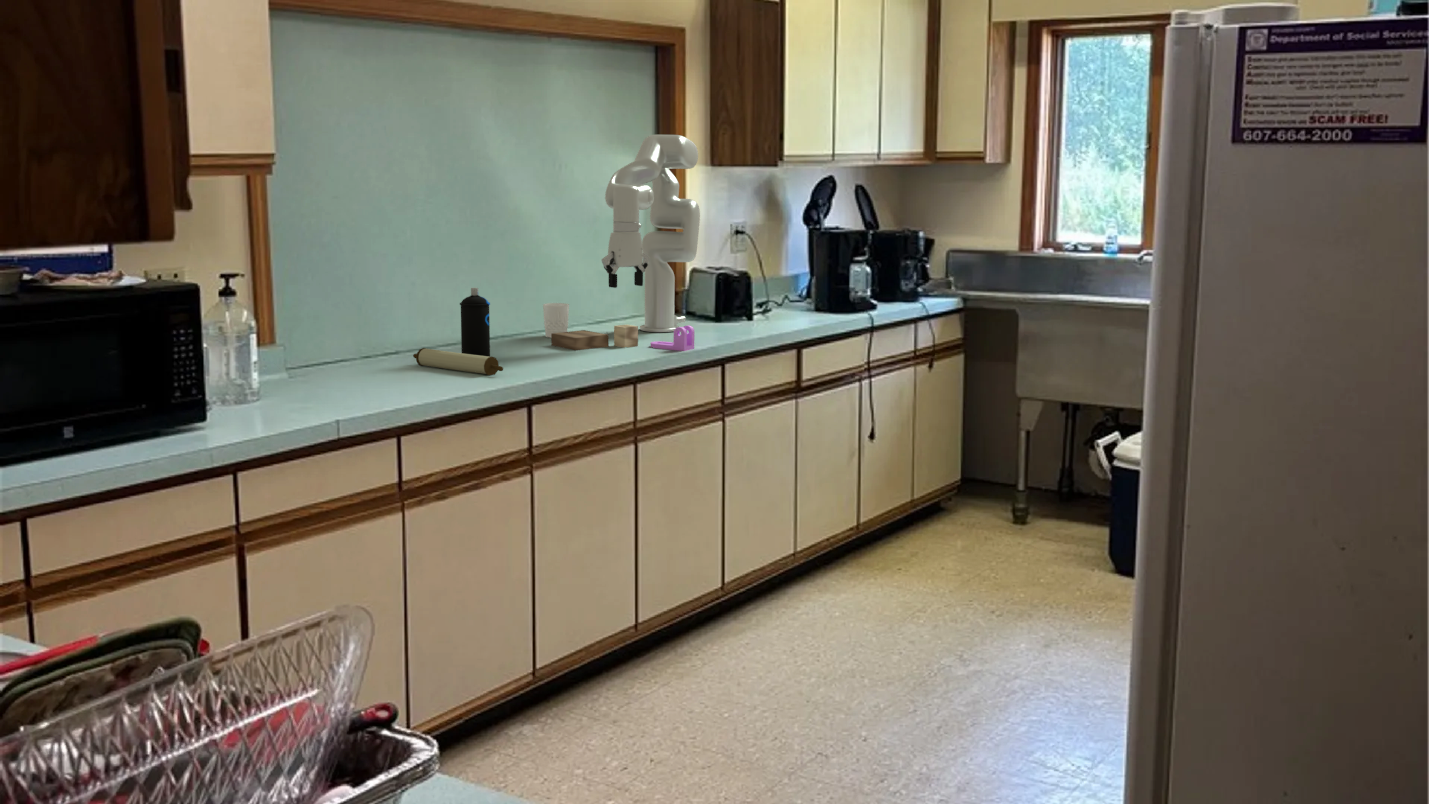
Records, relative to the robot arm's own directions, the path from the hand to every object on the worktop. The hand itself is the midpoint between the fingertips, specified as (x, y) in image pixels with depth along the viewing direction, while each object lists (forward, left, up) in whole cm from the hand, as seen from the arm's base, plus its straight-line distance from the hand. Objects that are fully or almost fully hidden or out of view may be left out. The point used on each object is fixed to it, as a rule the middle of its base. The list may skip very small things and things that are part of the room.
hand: (625, 286), depth 404 cm
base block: (+11, -8, -18) cm, 23 cm away
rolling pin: (+62, +7, -18) cm, 65 cm away
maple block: (0, 0, -18) cm, 18 cm away
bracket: (-8, +11, -18) cm, 23 cm away
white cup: (+5, -28, -18) cm, 34 cm away
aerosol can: (+50, -4, -18) cm, 53 cm away
